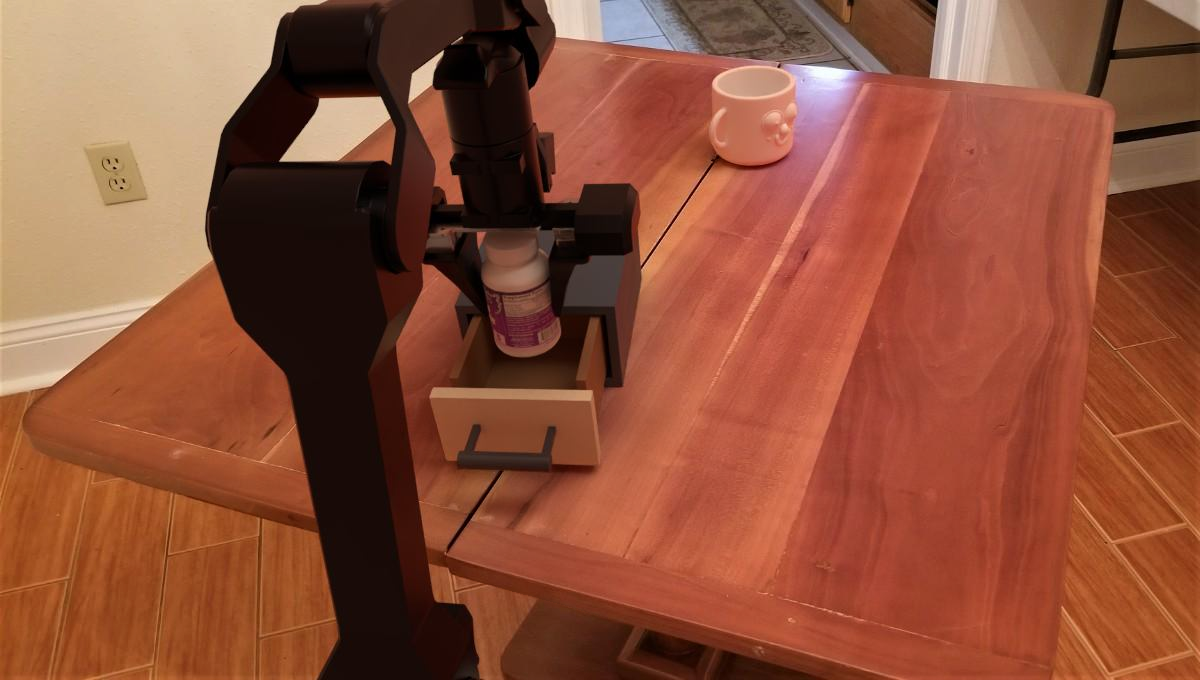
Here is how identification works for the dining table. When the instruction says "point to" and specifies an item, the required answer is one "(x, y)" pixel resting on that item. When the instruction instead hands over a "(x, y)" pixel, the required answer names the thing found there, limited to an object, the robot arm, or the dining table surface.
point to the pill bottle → (519, 294)
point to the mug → (753, 114)
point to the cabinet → (591, 299)
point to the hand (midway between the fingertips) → (524, 314)
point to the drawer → (524, 400)
